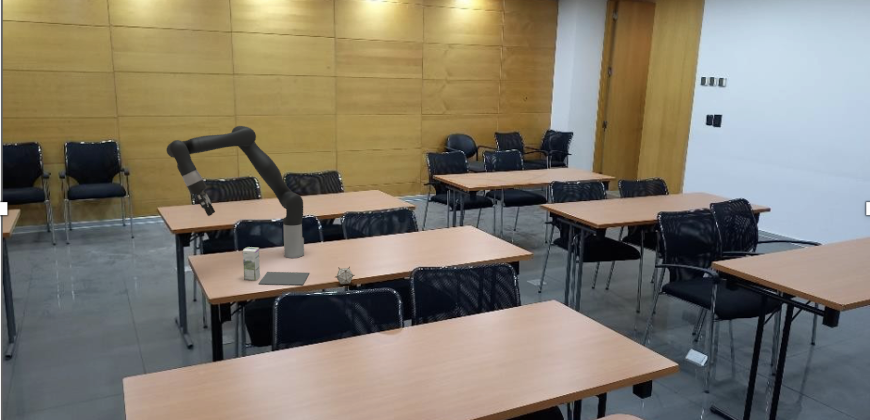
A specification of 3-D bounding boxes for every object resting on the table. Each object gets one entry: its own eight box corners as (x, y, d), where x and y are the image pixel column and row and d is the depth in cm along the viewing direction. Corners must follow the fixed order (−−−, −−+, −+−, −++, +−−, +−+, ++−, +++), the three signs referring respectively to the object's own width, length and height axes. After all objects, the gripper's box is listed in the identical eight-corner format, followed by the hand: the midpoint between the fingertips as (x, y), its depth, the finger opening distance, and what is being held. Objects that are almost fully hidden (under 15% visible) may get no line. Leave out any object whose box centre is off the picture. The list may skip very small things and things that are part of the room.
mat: (258, 284, 281) (258, 283, 281) (267, 272, 297) (267, 271, 297) (302, 285, 282) (302, 284, 282) (309, 273, 297) (309, 272, 297)
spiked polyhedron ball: (347, 293, 284) (349, 281, 277) (330, 285, 285) (332, 273, 278) (356, 279, 290) (358, 266, 283) (339, 271, 291) (342, 258, 284)
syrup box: (260, 276, 292) (259, 247, 288) (255, 281, 286) (254, 250, 283) (248, 276, 292) (247, 246, 289) (243, 280, 286) (242, 250, 283)
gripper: (199, 179, 274) (217, 212, 277) (204, 177, 288) (221, 208, 291) (183, 187, 273) (201, 219, 276) (189, 184, 287) (206, 216, 290)
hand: (211, 214), depth 283 cm, fingers open, 8 cm apart
